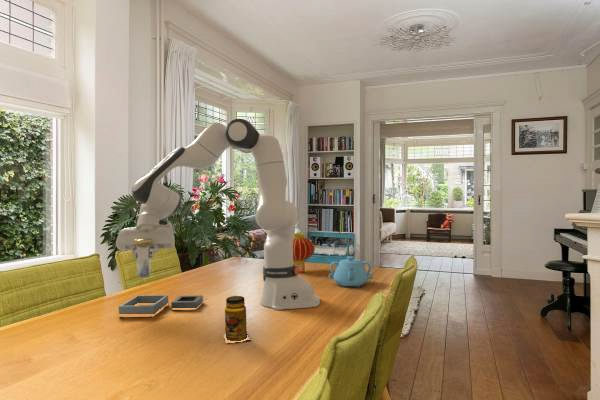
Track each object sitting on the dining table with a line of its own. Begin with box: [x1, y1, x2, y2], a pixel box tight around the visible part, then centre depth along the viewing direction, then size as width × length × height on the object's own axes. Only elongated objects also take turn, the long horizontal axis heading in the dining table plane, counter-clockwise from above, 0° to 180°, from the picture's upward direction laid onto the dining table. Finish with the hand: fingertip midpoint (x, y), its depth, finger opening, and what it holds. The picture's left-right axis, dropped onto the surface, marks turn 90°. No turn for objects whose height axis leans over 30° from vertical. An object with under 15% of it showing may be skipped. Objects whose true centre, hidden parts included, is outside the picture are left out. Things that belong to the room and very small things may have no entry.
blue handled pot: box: [328, 255, 373, 288], centre depth 172 cm, size 20×20×13 cm
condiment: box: [224, 295, 249, 341], centre depth 112 cm, size 7×8×12 cm
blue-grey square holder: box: [170, 294, 204, 309], centre depth 144 cm, size 9×9×3 cm
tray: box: [118, 294, 169, 315], centre depth 139 cm, size 12×14×4 cm
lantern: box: [293, 216, 316, 274], centre depth 202 cm, size 17×17×30 cm
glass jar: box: [134, 238, 152, 278], centre depth 139 cm, size 6×6×13 cm
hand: (143, 257), depth 138 cm, fingers closed on glass jar, 4 cm apart
